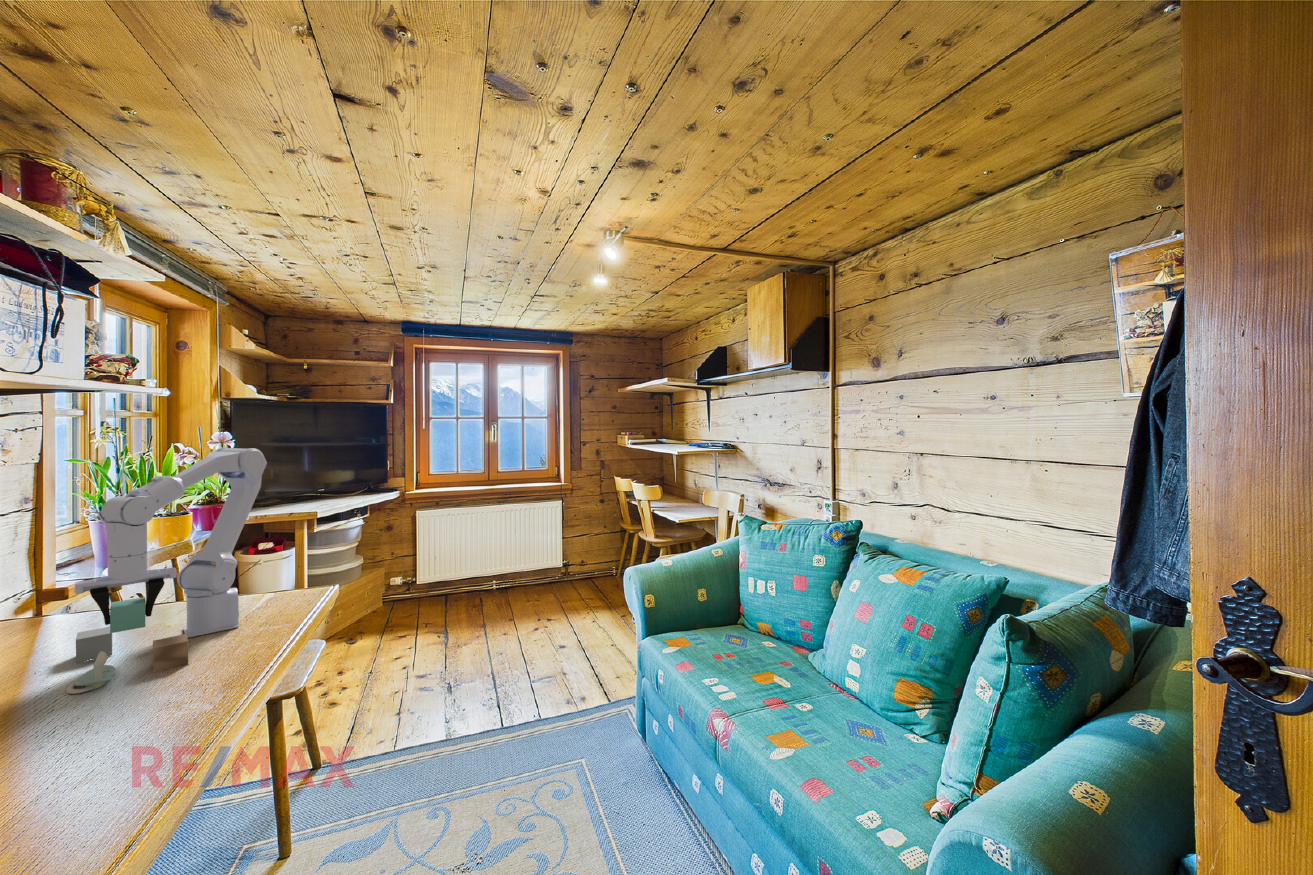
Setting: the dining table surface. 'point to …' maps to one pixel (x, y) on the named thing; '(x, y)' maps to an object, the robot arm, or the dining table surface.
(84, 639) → the slate block
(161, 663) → the walnut block
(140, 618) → the teal block
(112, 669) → the pacifier
